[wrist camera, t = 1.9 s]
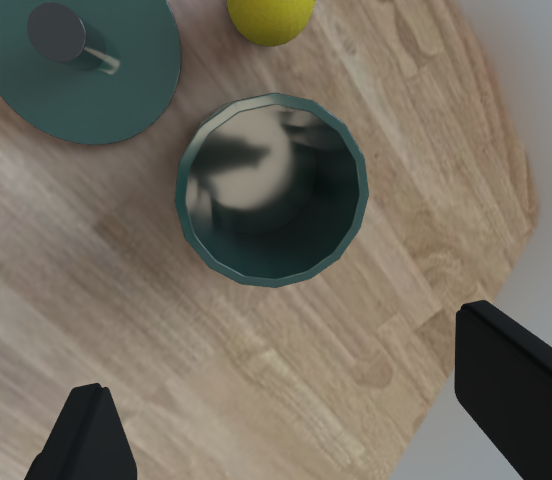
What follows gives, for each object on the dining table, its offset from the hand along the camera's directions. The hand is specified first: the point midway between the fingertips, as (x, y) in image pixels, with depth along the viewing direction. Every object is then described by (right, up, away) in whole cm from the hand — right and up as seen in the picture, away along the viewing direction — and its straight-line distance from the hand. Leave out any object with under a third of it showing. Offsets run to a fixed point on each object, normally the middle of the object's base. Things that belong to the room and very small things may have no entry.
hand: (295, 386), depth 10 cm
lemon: (-2, +20, +19) cm, 28 cm away
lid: (-14, +17, +17) cm, 27 cm away
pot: (-2, +9, +22) cm, 24 cm away
